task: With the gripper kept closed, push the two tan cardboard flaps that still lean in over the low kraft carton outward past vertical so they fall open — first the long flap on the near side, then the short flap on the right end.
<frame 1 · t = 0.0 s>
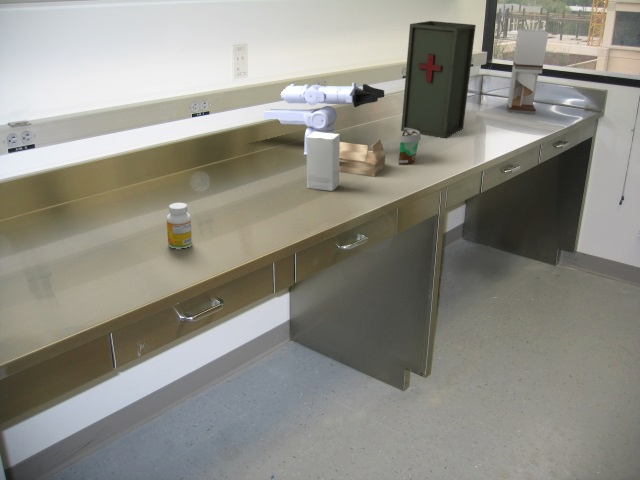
hand: (380, 95, 208), 22 cm above the lab bench, fingers open, 7 cm apart
first aid box: (432, 130, 259), on the lab bench
skincare box: (322, 187, 191), on the lab bench
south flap: (351, 151, 202), point 7 cm above the lab bench, hinge at -25.0°
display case: (520, 111, 298), on the lab bench
supplement bottle: (180, 246, 150), on the lab bench
carton: (355, 168, 209), on the lab bench
food container: (409, 162, 218), on the lab bench
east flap: (378, 150, 204), point 7 cm above the lab bench, hinge at -25.0°
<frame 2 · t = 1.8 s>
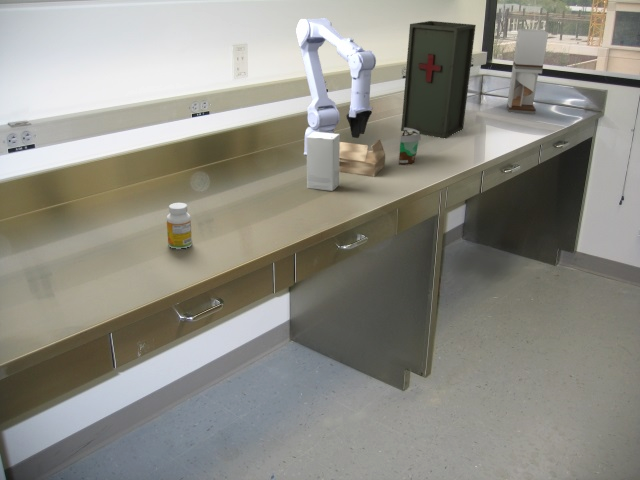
hand: (358, 135, 206), 10 cm above the lab bench, fingers open, 5 cm apart
nothing on the lab bench moved.
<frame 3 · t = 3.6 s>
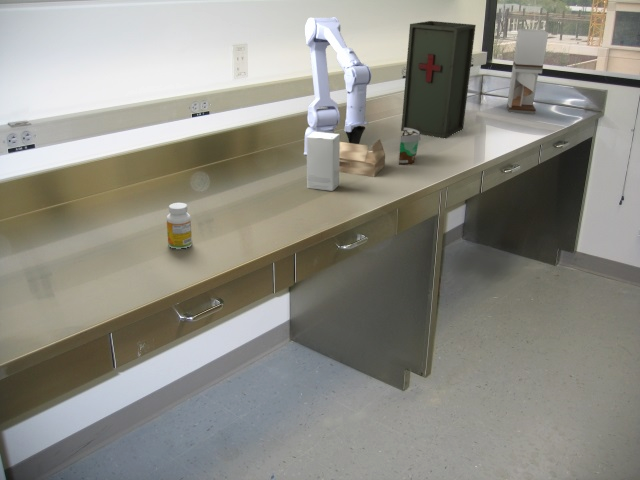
hand: (353, 149, 204), 7 cm above the lab bench, fingers closed, pressing on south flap
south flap: (351, 151, 202), point 7 cm above the lab bench, hinge at -25.0°, touching gripper
everything else where it was.
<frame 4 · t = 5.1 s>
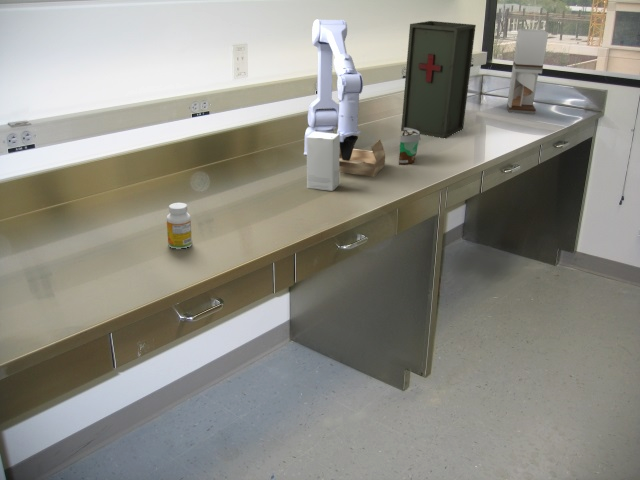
hand: (346, 159, 198), 5 cm above the lab bench, fingers closed
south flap: (347, 160, 200), point 5 cm above the lab bench, hinge at 78.6°
everything else where it was.
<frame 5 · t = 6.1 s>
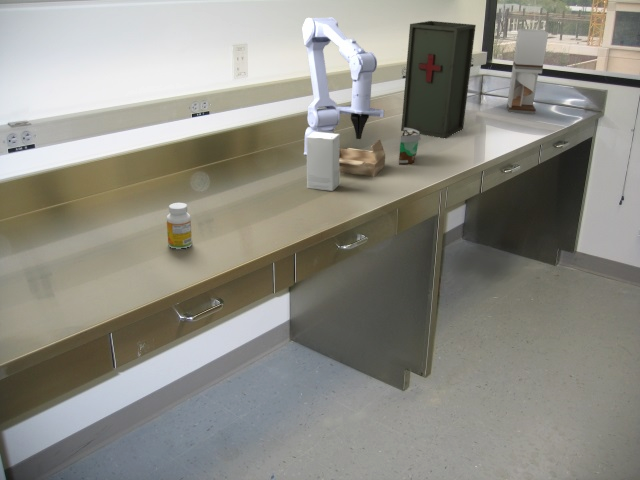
hand: (358, 138, 203), 10 cm above the lab bench, fingers closed
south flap: (347, 161, 200), point 5 cm above the lab bench, hinge at 83.5°
everything else where it was.
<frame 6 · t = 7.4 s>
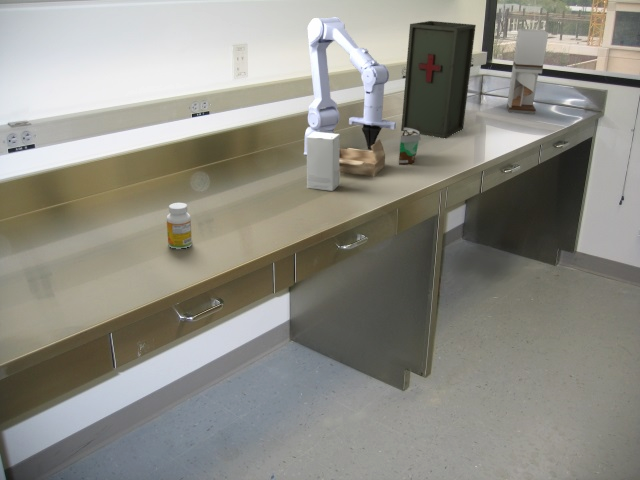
hand: (370, 149, 205), 7 cm above the lab bench, fingers closed, pressing on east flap
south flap: (347, 161, 200), point 5 cm above the lab bench, hinge at 84.3°
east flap: (378, 150, 204), point 7 cm above the lab bench, hinge at -25.0°, touching gripper
everything else where it was.
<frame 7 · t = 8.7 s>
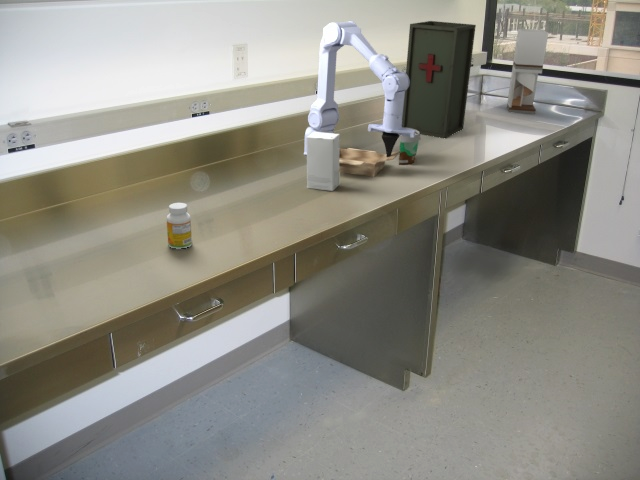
hand: (389, 156, 204), 5 cm above the lab bench, fingers closed, pressing on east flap
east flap: (389, 156, 204), point 5 cm above the lab bench, hinge at 70.6°, touching gripper
everything else where it was.
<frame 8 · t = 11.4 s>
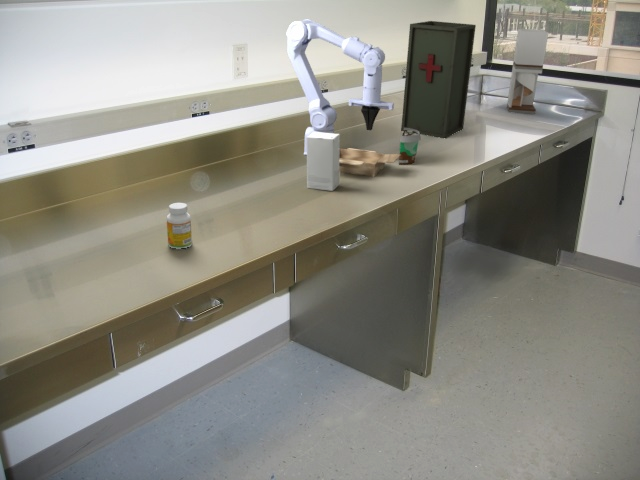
hand: (369, 129, 213), 10 cm above the lab bench, fingers closed
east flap: (389, 158, 204), point 5 cm above the lab bench, hinge at 82.5°
everything else where it was.
at the end: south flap at +84° (first picture: -25°); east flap at +82° (first picture: -25°) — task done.
